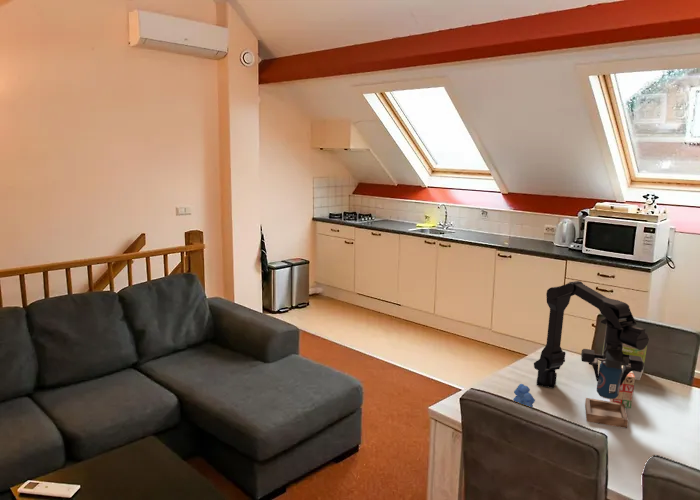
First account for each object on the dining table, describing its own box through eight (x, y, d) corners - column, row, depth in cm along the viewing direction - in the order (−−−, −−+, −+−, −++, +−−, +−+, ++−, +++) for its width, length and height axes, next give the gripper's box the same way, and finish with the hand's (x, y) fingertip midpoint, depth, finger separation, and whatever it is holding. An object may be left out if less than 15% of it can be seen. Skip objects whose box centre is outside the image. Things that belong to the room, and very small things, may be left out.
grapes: (541, 425, 181) (544, 391, 179) (521, 425, 180) (524, 392, 178) (526, 408, 192) (529, 376, 190) (508, 408, 192) (510, 377, 189)
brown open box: (586, 421, 184) (587, 413, 183) (585, 404, 195) (585, 397, 195) (627, 428, 180) (628, 420, 179) (623, 411, 191) (624, 404, 190)
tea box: (599, 371, 224) (603, 337, 221) (604, 363, 232) (608, 330, 229) (640, 381, 215) (645, 346, 212) (643, 372, 223) (648, 338, 220)
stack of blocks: (602, 381, 215) (605, 352, 212) (619, 383, 213) (623, 354, 211) (612, 406, 195) (615, 374, 192) (631, 408, 193) (635, 376, 191)
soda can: (593, 390, 190) (597, 357, 187) (613, 391, 189) (618, 359, 186) (600, 399, 183) (604, 366, 180) (621, 400, 182) (626, 367, 180)
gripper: (584, 343, 178) (579, 387, 181) (648, 352, 171) (642, 397, 174) (583, 332, 188) (578, 374, 191) (644, 340, 181) (638, 383, 185)
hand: (608, 382), depth 185 cm, fingers closed on soda can, 7 cm apart
